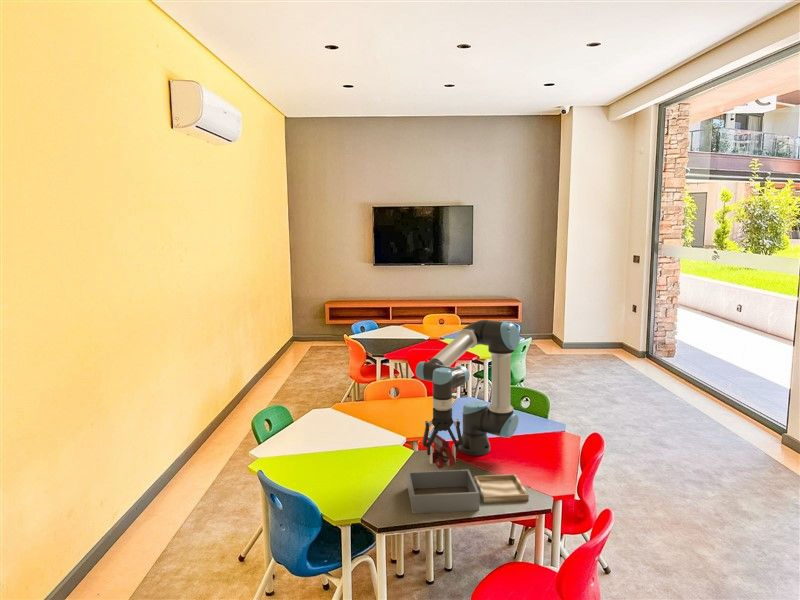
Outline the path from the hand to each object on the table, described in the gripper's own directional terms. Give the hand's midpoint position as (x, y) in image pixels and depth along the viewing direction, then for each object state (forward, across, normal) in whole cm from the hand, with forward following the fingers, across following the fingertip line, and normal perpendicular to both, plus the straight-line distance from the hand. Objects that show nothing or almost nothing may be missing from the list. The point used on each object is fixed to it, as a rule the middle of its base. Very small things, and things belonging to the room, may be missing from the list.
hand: (442, 461), depth 219 cm
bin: (+16, 0, 0) cm, 16 cm away
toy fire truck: (+1, 0, 0) cm, 1 cm away
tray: (+16, +25, +4) cm, 29 cm away
